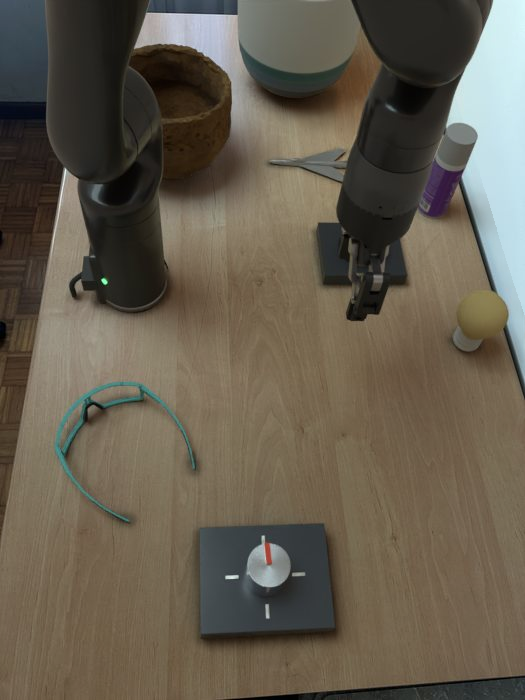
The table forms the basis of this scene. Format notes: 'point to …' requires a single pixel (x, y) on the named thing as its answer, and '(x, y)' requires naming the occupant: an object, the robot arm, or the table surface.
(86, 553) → the table surface
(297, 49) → the planter
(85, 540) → the table surface
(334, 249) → the block
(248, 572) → the dial
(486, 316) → the light bulb
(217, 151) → the bowl
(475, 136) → the container
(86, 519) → the table surface
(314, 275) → the table surface
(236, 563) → the panel
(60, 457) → the teal curved thin frame
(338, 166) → the toy airplane
